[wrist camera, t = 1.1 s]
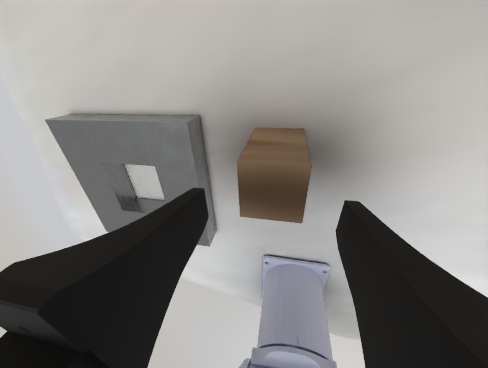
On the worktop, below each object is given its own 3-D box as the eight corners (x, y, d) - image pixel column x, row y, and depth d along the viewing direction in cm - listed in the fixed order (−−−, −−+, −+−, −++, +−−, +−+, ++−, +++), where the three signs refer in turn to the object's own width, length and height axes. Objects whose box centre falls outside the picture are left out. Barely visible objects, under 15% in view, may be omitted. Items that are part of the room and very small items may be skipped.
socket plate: (216, 230, 24) (209, 246, 22) (120, 218, 27) (106, 231, 25) (199, 115, 17) (186, 122, 15) (70, 114, 20) (45, 119, 18)
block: (298, 171, 18) (302, 223, 12) (255, 169, 19) (240, 216, 13) (303, 128, 16) (311, 165, 10) (255, 127, 17) (237, 161, 11)
